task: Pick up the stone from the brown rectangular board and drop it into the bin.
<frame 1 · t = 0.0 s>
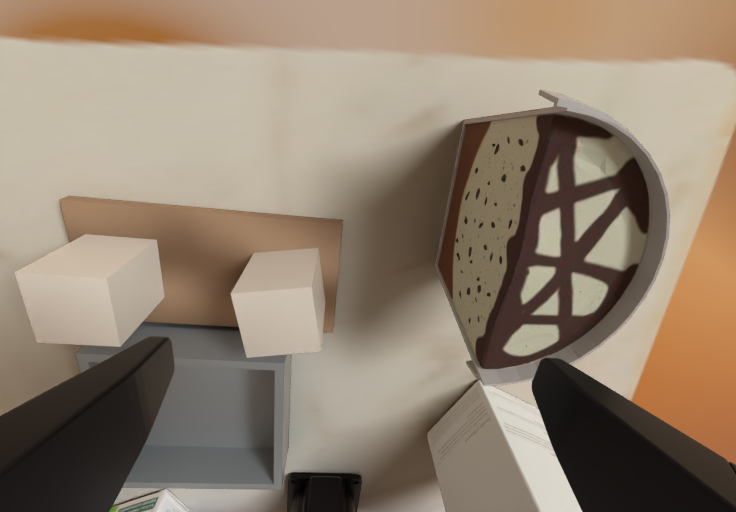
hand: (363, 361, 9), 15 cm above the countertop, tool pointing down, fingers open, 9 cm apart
food container: (493, 202, 23), on the countertop
supplement box: (482, 419, 31), on the countertop
cream white block: (290, 278, 23), point 1 cm above the countertop, touching brown rectangular board
stone b: (126, 267, 22), point 1 cm above the countertop, touching brown rectangular board
brown rectangular board: (214, 267, 23), on the countertop
syrup box: (159, 511, 33), on the countertop
bin: (209, 390, 28), on the countertop
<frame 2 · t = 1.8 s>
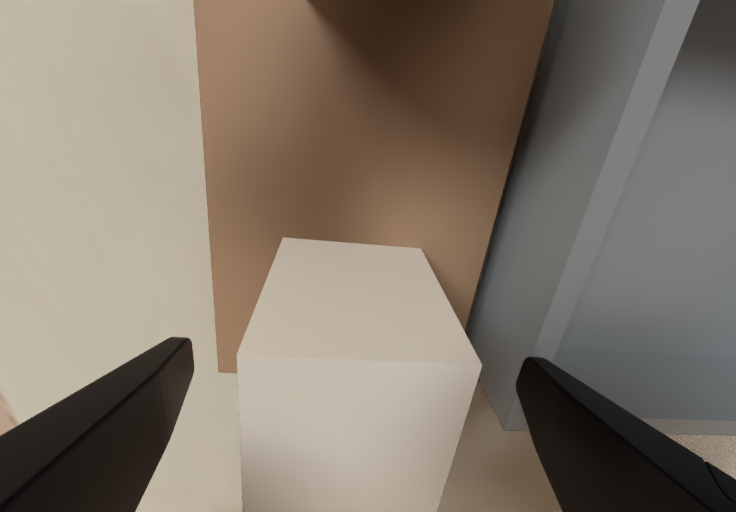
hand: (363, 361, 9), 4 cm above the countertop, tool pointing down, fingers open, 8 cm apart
stone b: (347, 302, 11), point 1 cm above the countertop, touching brown rectangular board
brown rectangular board: (363, 131, 10), on the countertop
bin: (688, 202, 11), on the countertop
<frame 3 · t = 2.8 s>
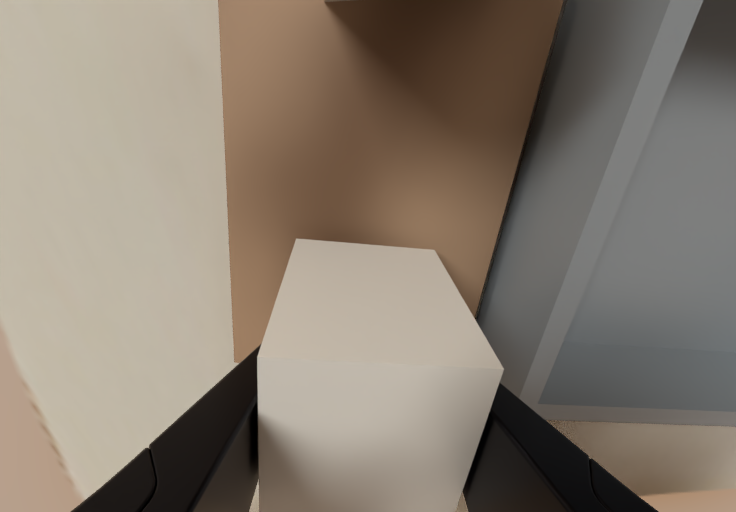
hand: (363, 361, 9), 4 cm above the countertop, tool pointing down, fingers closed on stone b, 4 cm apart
stone b: (359, 303, 11), point 1 cm above the countertop, touching gripper
brown rectangular board: (376, 129, 10), on the countertop
bin: (693, 199, 12), on the countertop
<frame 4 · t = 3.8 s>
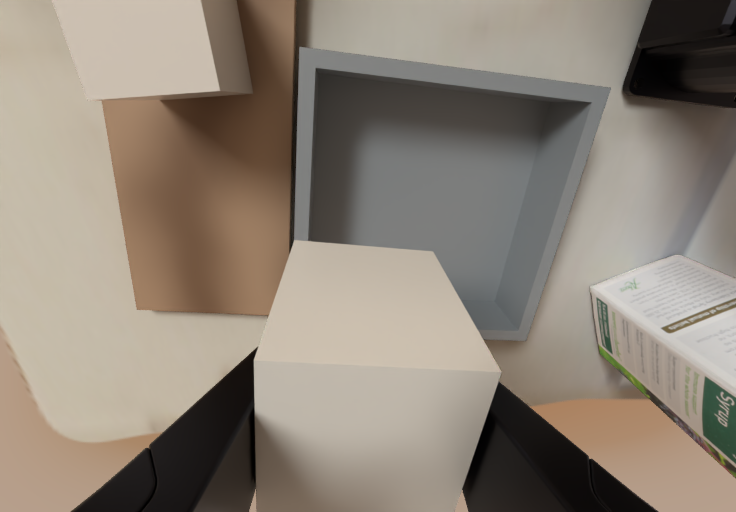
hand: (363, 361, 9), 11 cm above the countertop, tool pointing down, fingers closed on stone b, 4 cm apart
cream white block: (194, 44, 15), point 1 cm above the countertop, touching brown rectangular board
stone b: (357, 305, 11), point 9 cm above the countertop, touching gripper
brown rectangular board: (209, 163, 17), on the countertop
syrup box: (633, 302, 23), on the countertop
bin: (417, 201, 19), on the countertop
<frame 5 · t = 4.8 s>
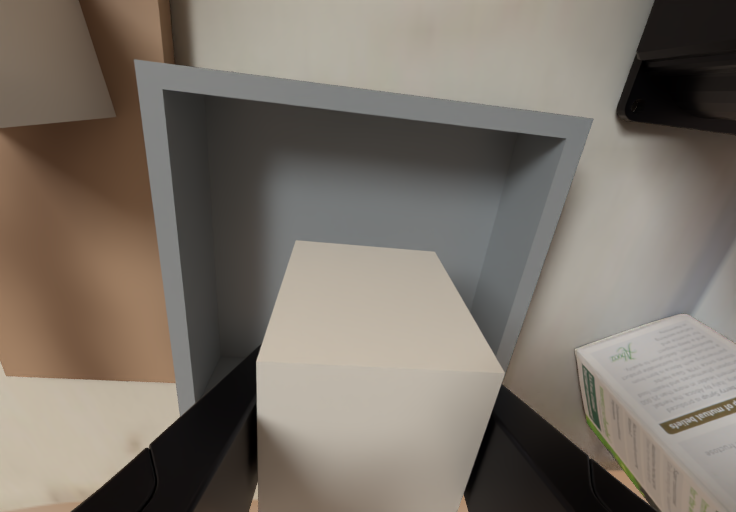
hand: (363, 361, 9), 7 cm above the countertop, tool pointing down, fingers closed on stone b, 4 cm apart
cream white block: (26, 51, 11), point 1 cm above the countertop, touching brown rectangular board
stone b: (359, 305, 11), point 5 cm above the countertop, touching gripper
brown rectangular board: (78, 202, 14), on the countertop
syrup box: (629, 365, 19), on the countertop
bin: (353, 249, 15), on the countertop
when the fingers open (5 cm above the countertop, at t = 5.5 s): stone b drops 1 cm, resting on bin.
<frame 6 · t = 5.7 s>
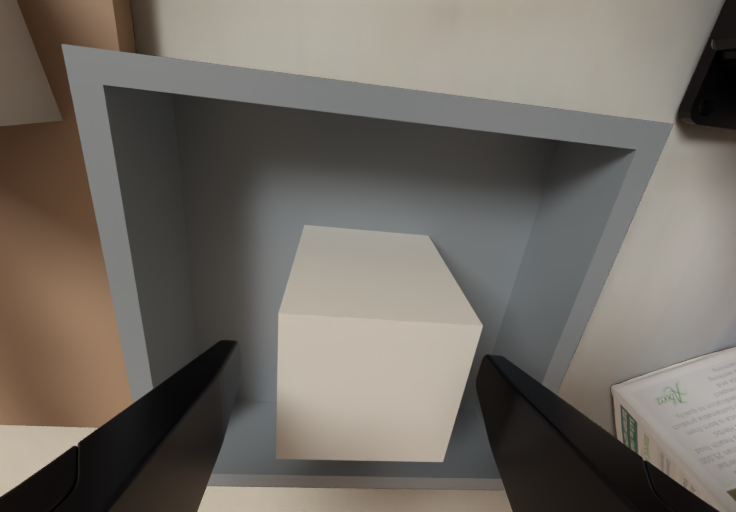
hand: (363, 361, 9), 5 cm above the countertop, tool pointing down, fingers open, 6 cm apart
stone b: (360, 285, 12), point 1 cm above the countertop, touching bin
brown rectangular board: (26, 223, 11), on the countertop
syrup box: (671, 402, 17), on the countertop
bin: (356, 276, 13), on the countertop
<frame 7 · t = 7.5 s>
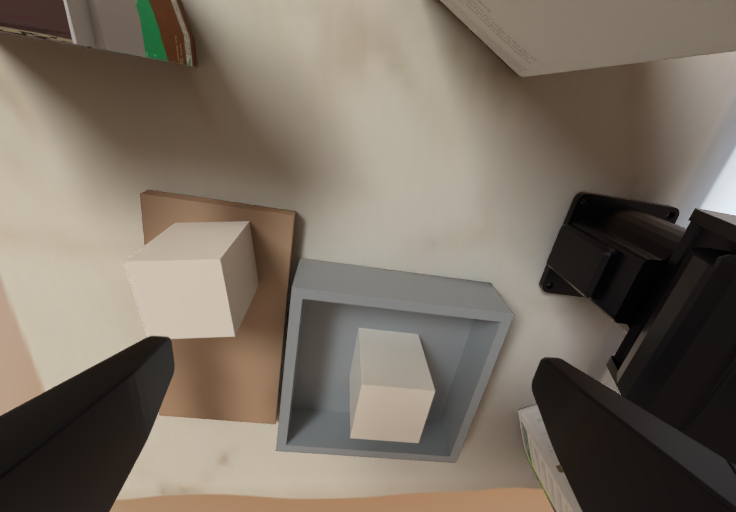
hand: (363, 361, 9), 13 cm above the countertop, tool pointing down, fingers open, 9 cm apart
cream white block: (218, 255, 20), point 1 cm above the countertop, touching brown rectangular board
stone b: (383, 355, 24), point 1 cm above the countertop, touching bin
brown rectangular board: (222, 320, 23), on the countertop
syrup box: (554, 421, 29), on the countertop
bin: (380, 349, 25), on the countertop
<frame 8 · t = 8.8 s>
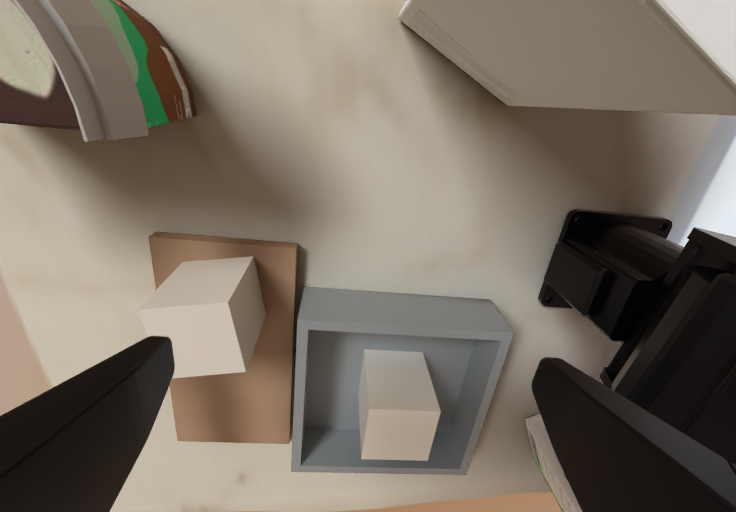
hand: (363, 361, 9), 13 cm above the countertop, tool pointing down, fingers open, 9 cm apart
food container: (87, 34, 17), on the countertop
cream white block: (226, 289, 21), point 1 cm above the countertop, touching brown rectangular board
stone b: (389, 373, 25), point 1 cm above the countertop, touching bin
brown rectangular board: (233, 348, 24), on the countertop
syrup box: (562, 427, 29), on the countertop
bin: (387, 367, 26), on the countertop
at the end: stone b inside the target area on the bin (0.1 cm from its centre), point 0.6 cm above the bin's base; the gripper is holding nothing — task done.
